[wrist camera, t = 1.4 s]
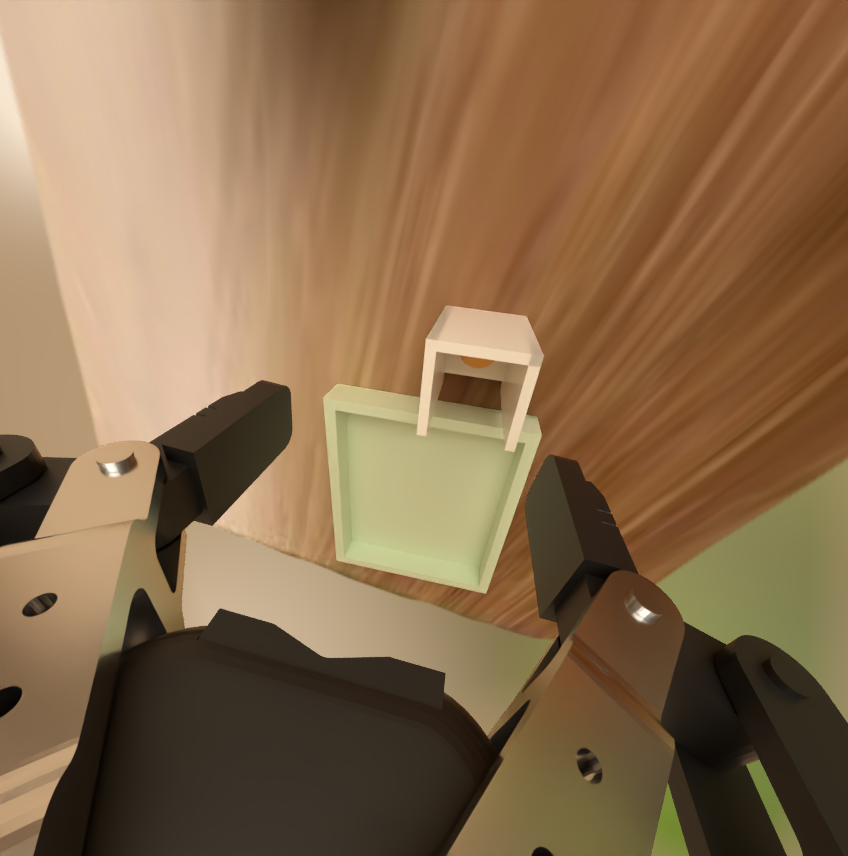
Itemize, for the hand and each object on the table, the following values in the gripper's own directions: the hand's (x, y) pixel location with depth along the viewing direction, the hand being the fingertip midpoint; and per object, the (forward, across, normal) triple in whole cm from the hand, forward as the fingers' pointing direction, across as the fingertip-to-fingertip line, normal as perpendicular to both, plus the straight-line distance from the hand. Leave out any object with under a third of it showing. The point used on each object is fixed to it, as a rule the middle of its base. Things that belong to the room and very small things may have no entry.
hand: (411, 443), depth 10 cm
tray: (+17, -1, +18) cm, 25 cm away
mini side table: (+17, -2, +2) cm, 18 cm away
